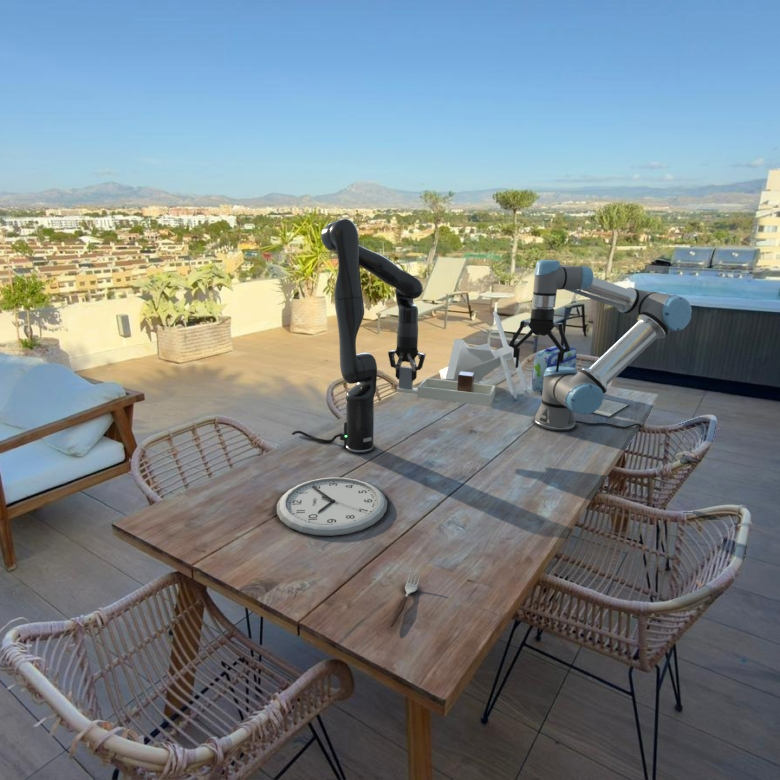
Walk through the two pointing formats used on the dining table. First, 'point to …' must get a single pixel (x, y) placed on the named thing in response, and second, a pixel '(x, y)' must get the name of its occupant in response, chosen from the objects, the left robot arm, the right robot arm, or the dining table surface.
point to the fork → (409, 589)
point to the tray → (445, 389)
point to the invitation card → (609, 407)
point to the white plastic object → (482, 361)
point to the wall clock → (331, 506)
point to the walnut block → (465, 381)
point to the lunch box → (549, 364)
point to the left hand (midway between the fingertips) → (405, 379)
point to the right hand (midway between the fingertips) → (536, 368)
